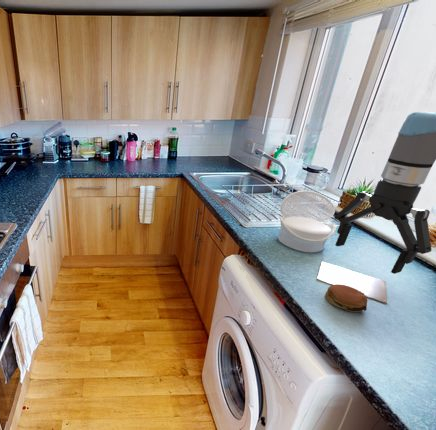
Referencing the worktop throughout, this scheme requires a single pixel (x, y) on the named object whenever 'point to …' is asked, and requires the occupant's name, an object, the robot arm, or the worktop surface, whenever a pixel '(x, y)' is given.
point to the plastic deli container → (306, 222)
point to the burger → (346, 298)
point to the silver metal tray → (353, 281)
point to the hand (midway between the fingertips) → (365, 257)
